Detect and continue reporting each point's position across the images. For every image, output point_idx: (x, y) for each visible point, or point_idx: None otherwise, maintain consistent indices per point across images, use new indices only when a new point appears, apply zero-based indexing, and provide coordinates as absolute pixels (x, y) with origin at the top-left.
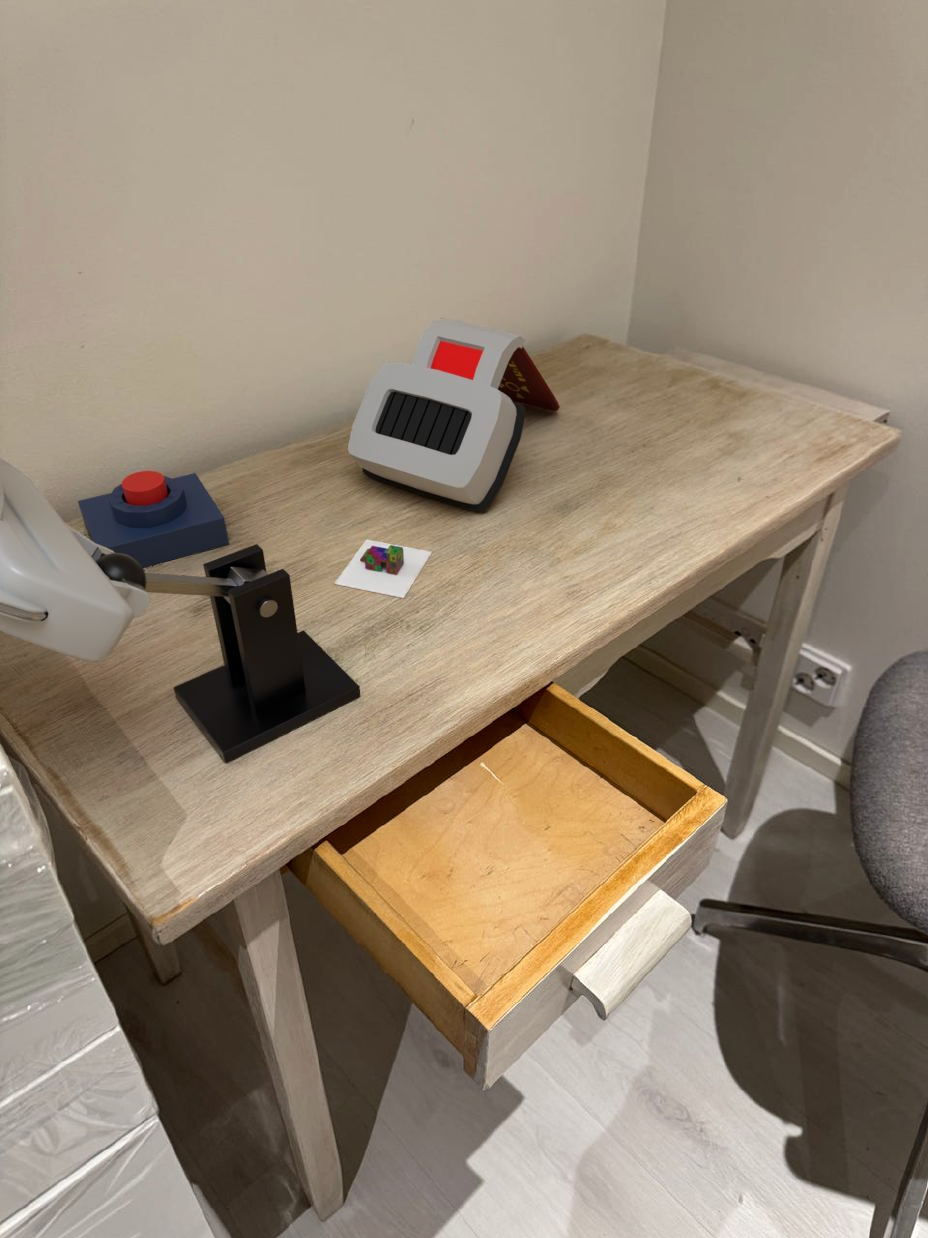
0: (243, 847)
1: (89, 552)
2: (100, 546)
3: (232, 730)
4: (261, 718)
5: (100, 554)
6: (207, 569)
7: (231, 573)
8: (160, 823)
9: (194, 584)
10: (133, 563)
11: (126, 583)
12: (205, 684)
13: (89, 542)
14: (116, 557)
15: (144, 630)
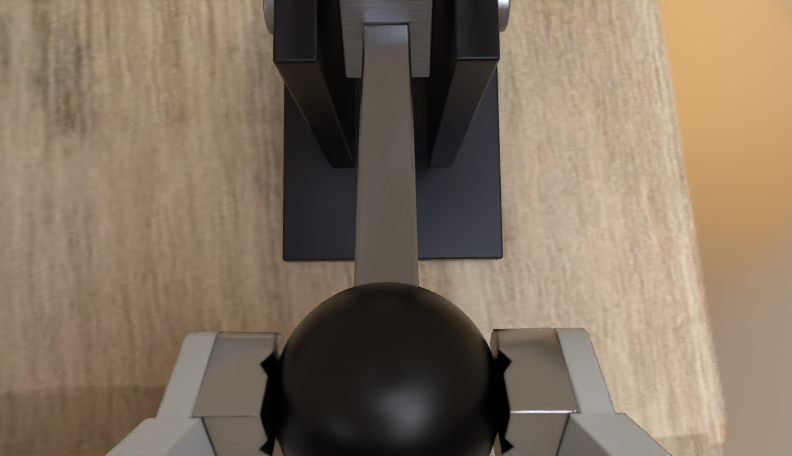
0: (679, 315)
1: (196, 454)
2: (182, 395)
3: (460, 219)
4: (464, 163)
5: (256, 423)
6: (308, 63)
7: (353, 12)
8: None
9: (412, 136)
10: (427, 327)
11: (576, 417)
12: (315, 207)
13: (168, 451)
14: (390, 393)
15: (60, 232)
